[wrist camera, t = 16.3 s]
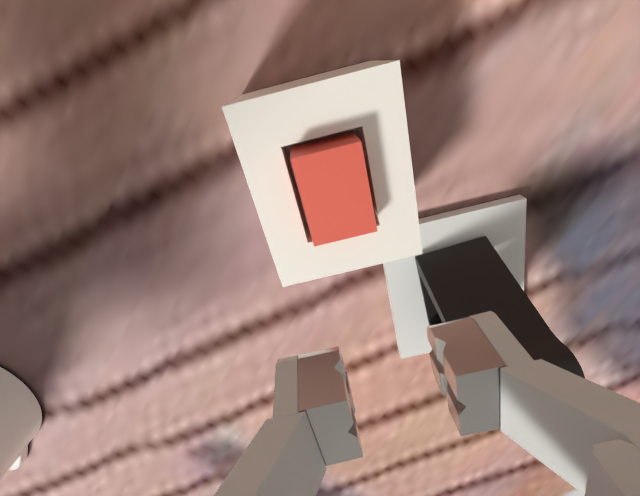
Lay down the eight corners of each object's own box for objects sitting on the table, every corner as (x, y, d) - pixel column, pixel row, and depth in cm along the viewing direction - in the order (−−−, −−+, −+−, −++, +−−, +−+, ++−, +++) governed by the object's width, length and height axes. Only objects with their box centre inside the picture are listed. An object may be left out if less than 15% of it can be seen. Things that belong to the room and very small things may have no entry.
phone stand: (492, 316, 34) (582, 431, 24) (430, 333, 35) (490, 453, 24) (484, 234, 30) (588, 327, 20) (414, 254, 31) (478, 356, 20)
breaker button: (311, 225, 23) (314, 246, 20) (290, 146, 21) (290, 159, 18) (367, 211, 23) (377, 231, 20) (352, 130, 21) (361, 141, 18)
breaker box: (285, 234, 30) (282, 287, 23) (241, 94, 25) (221, 106, 18) (391, 208, 30) (422, 253, 23) (369, 60, 25) (399, 60, 18)
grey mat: (398, 351, 37) (401, 358, 36) (376, 228, 31) (379, 233, 30) (517, 325, 36) (522, 331, 36) (519, 194, 30) (526, 198, 29)
